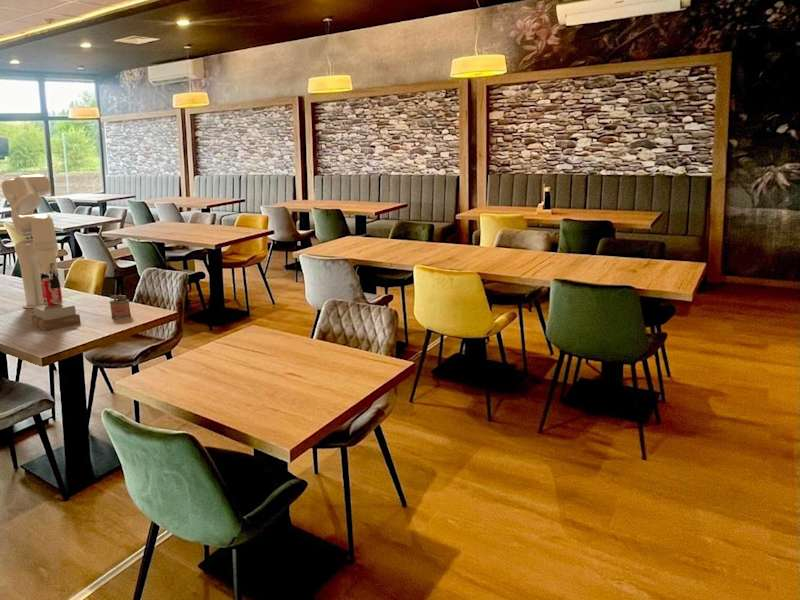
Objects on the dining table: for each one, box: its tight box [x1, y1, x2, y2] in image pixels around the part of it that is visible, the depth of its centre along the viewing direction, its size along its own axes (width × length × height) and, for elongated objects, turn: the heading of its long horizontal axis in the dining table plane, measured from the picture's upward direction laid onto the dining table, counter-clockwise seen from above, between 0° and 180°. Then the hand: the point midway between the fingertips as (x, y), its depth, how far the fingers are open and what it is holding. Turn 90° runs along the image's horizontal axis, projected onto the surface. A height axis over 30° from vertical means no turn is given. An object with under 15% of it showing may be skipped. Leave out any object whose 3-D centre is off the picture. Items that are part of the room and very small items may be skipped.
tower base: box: [31, 313, 81, 332], centre depth 271 cm, size 14×14×4 cm
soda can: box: [41, 276, 63, 308], centre depth 268 cm, size 7×7×12 cm
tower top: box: [32, 300, 76, 321], centre depth 270 cm, size 12×12×4 cm
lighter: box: [109, 294, 132, 319], centre depth 280 cm, size 8×3×10 cm, turn 104°
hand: (50, 286), depth 267 cm, fingers open, 9 cm apart
